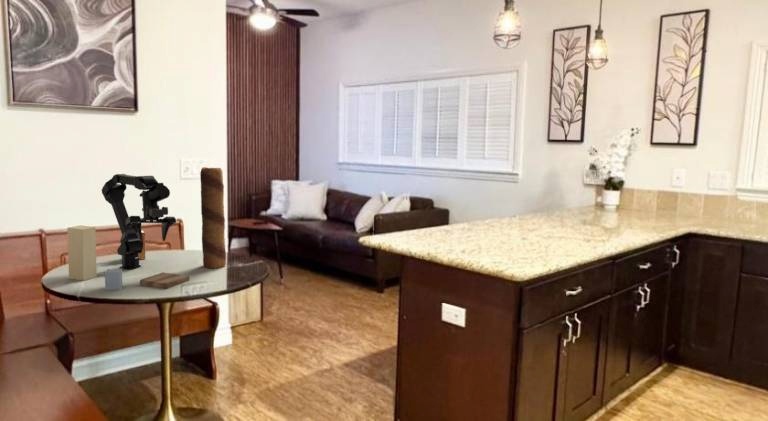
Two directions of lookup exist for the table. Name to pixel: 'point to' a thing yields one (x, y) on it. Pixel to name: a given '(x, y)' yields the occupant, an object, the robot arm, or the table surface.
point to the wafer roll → (213, 217)
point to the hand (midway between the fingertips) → (152, 241)
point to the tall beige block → (82, 252)
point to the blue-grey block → (113, 279)
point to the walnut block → (164, 280)
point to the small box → (142, 255)
